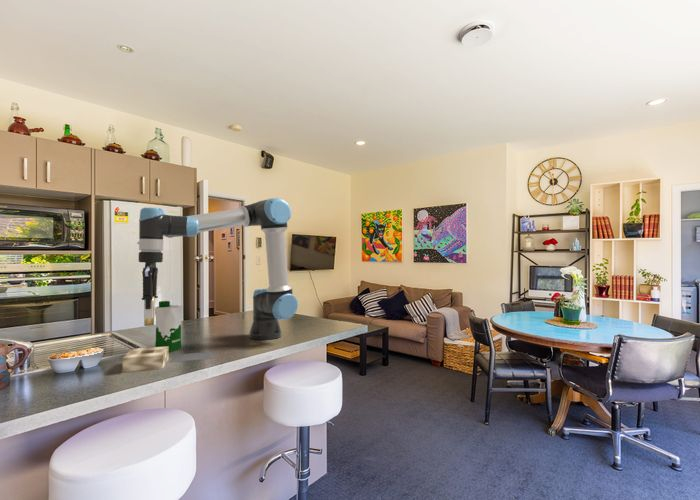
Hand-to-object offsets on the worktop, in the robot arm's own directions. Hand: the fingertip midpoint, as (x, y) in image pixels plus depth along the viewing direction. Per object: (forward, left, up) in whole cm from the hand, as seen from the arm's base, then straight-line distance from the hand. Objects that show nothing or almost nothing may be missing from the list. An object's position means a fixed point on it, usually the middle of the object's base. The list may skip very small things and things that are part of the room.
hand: (149, 317), depth 126 cm
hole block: (+1, 0, -17) cm, 17 cm away
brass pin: (0, 0, -3) cm, 3 cm away
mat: (-13, -6, -17) cm, 22 cm away
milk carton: (-3, -19, -17) cm, 26 cm away
